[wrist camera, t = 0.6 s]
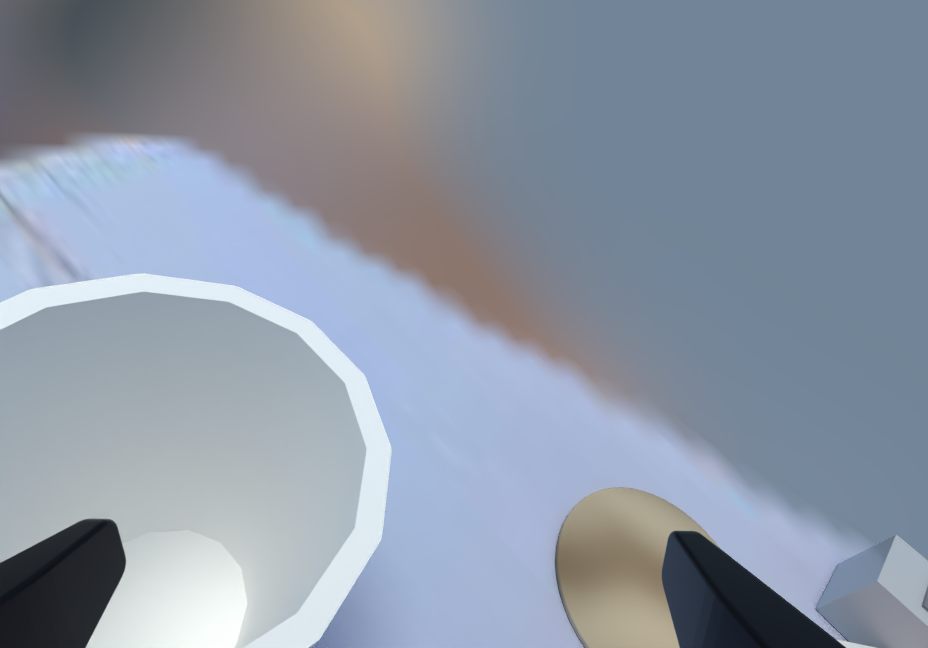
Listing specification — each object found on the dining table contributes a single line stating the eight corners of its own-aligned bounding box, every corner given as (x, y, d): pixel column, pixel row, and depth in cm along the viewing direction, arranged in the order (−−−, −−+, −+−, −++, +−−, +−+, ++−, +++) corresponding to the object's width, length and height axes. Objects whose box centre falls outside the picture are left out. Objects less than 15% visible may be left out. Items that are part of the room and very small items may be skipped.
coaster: (788, 701, 23) (794, 699, 23) (590, 724, 20) (594, 722, 20) (692, 492, 30) (696, 489, 30) (535, 489, 27) (538, 485, 27)
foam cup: (315, 707, 19) (451, 612, 10) (-31, 875, 14) (-342, 969, 5) (263, 471, 24) (327, 272, 15) (-6, 528, 18) (-143, 273, 10)
